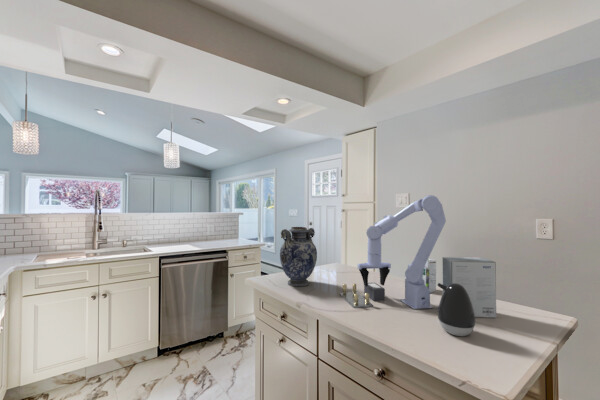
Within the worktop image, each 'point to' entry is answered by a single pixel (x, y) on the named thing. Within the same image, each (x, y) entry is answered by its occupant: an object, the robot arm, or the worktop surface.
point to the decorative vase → (298, 255)
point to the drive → (375, 292)
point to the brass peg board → (355, 298)
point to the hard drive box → (474, 281)
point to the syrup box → (430, 275)
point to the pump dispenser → (456, 310)
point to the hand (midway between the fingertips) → (374, 285)
